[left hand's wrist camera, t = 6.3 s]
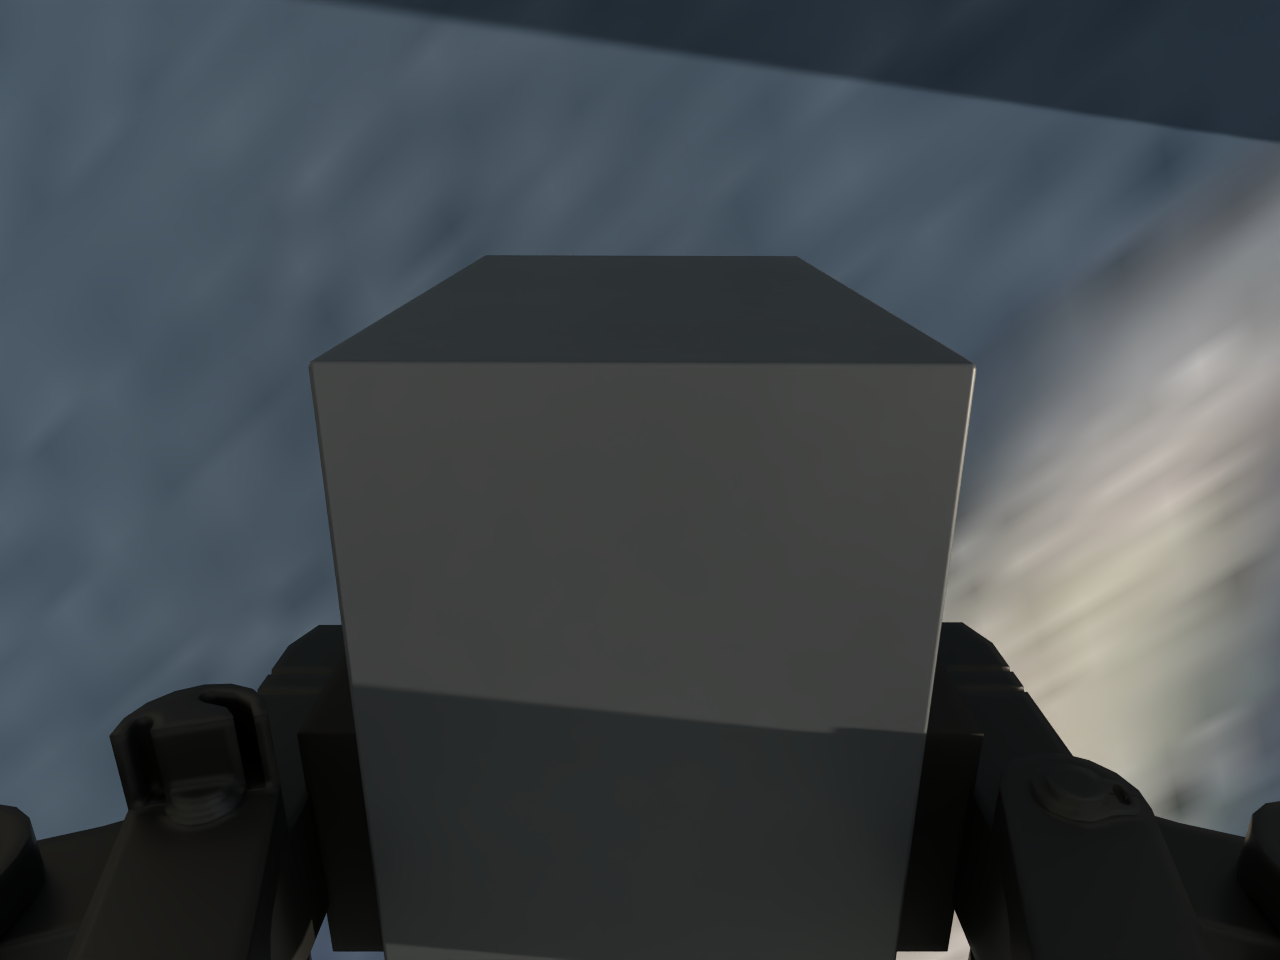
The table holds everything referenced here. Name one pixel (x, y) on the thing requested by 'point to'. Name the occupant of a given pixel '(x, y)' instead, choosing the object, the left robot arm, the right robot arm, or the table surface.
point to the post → (641, 605)
